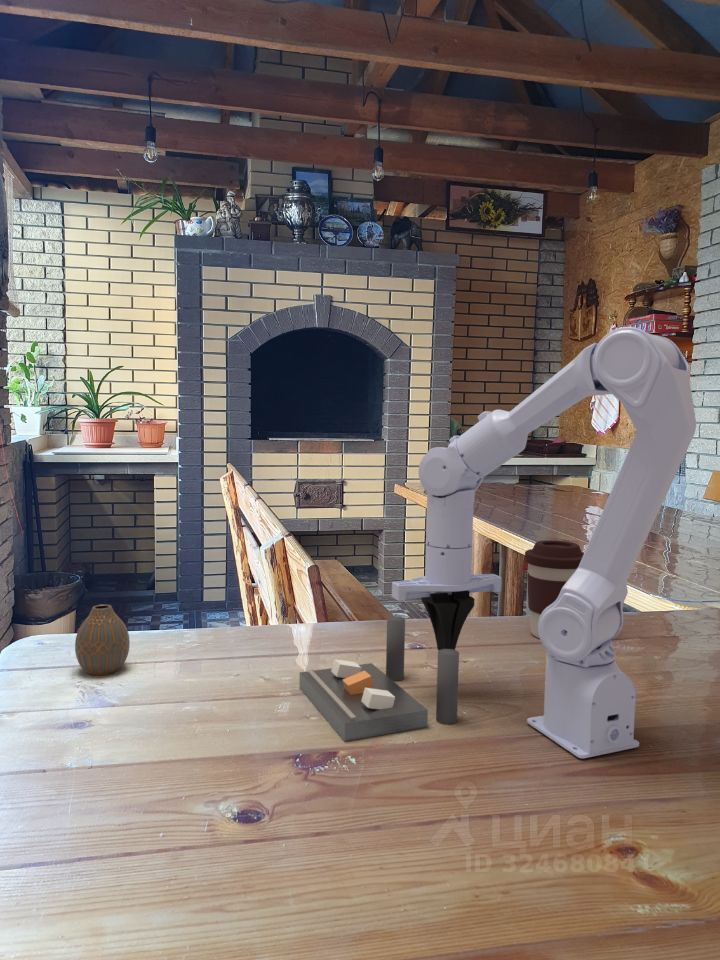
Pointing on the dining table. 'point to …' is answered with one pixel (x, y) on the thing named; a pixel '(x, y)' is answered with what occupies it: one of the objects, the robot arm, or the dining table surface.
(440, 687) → the post
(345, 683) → the orange block
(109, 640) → the vase
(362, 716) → the breaker panel
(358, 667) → the paddle
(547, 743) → the dining table surface
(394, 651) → the post
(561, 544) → the coffee cup
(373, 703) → the paddle
